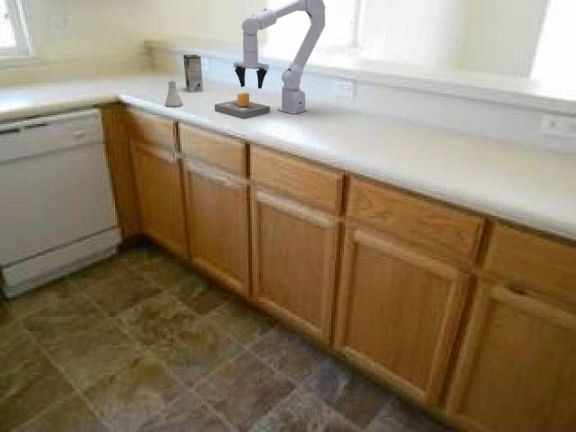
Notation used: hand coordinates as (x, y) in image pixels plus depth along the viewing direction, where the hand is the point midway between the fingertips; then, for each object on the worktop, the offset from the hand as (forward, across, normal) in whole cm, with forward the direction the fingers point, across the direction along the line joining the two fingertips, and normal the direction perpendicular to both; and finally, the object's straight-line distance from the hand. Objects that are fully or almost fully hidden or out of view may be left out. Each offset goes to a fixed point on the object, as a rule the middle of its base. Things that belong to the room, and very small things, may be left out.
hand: (251, 87), depth 179 cm
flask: (+10, +34, +5) cm, 36 cm away
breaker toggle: (+7, +2, +3) cm, 8 cm away
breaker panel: (+10, +3, +2) cm, 10 cm away
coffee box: (+10, +44, -25) cm, 52 cm away
